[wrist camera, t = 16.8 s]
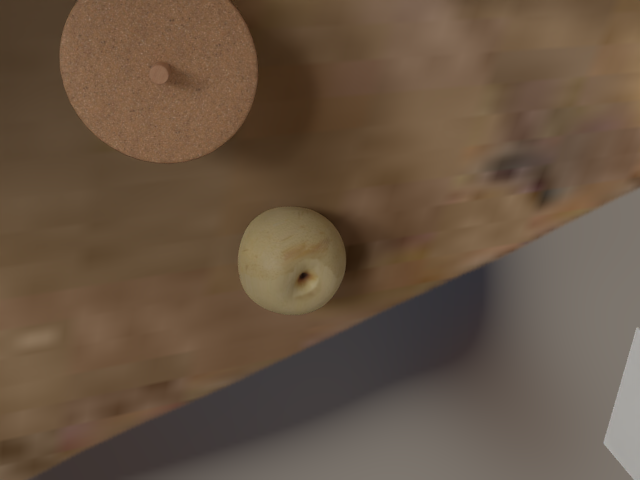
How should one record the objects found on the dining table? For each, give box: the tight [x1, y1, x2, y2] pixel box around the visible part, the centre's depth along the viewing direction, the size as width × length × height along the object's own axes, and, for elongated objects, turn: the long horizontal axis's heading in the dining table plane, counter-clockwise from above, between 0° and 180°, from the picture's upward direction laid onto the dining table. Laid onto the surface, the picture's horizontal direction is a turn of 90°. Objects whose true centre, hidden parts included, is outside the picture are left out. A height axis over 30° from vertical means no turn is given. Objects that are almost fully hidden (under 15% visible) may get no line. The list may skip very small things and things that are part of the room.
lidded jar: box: [59, 0, 258, 163], centre depth 36 cm, size 11×11×9 cm
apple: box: [238, 206, 346, 315], centre depth 44 cm, size 8×8×8 cm
